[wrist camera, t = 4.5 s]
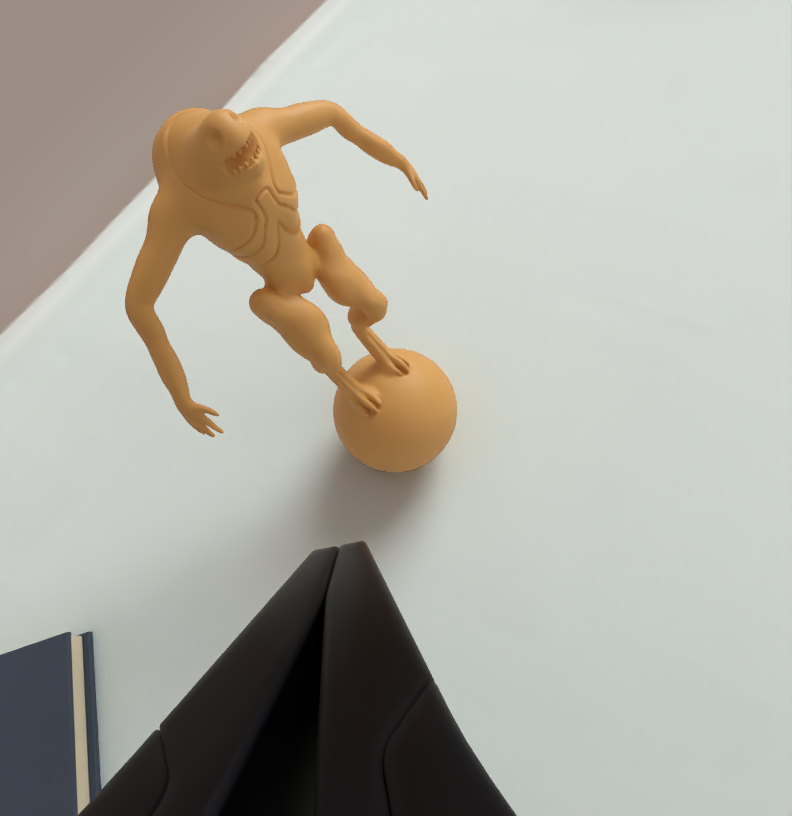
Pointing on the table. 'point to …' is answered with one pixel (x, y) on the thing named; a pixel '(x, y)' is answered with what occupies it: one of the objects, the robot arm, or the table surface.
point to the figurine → (286, 273)
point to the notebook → (48, 728)
